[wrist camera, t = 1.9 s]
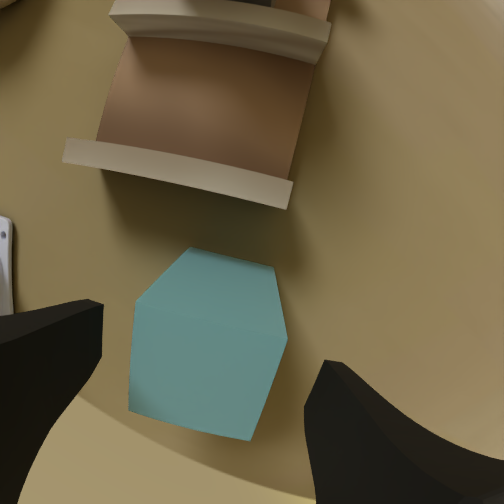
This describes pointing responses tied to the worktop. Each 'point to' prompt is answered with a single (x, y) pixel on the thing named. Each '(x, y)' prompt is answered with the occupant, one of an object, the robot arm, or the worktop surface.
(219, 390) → the teal plug
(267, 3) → the grey plug
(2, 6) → the ceramic mug
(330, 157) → the worktop surface
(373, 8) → the worktop surface
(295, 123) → the brown tray
